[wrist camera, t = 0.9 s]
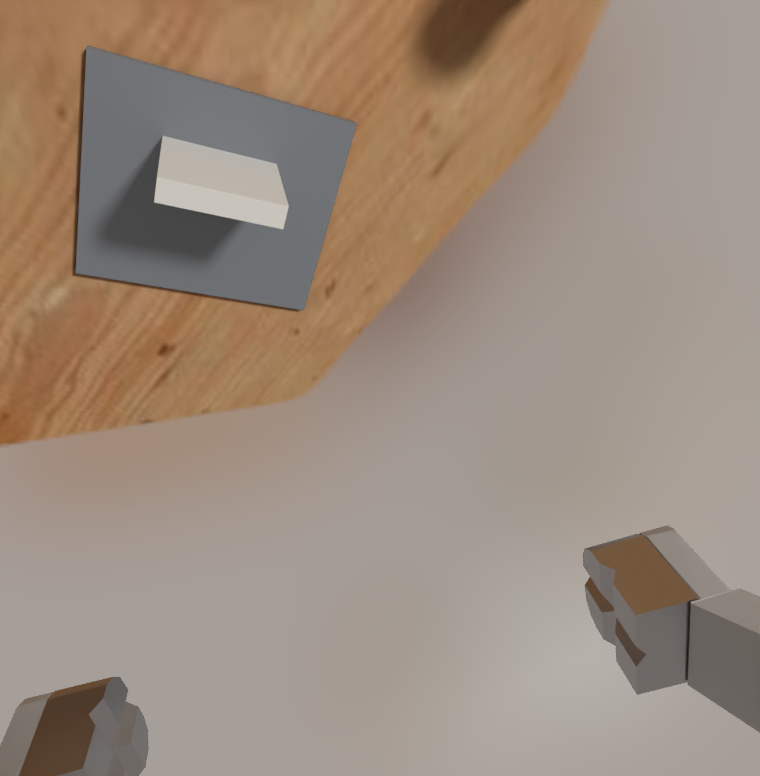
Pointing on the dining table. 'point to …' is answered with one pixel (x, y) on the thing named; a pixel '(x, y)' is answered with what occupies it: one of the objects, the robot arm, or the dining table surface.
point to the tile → (220, 183)
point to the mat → (187, 227)
